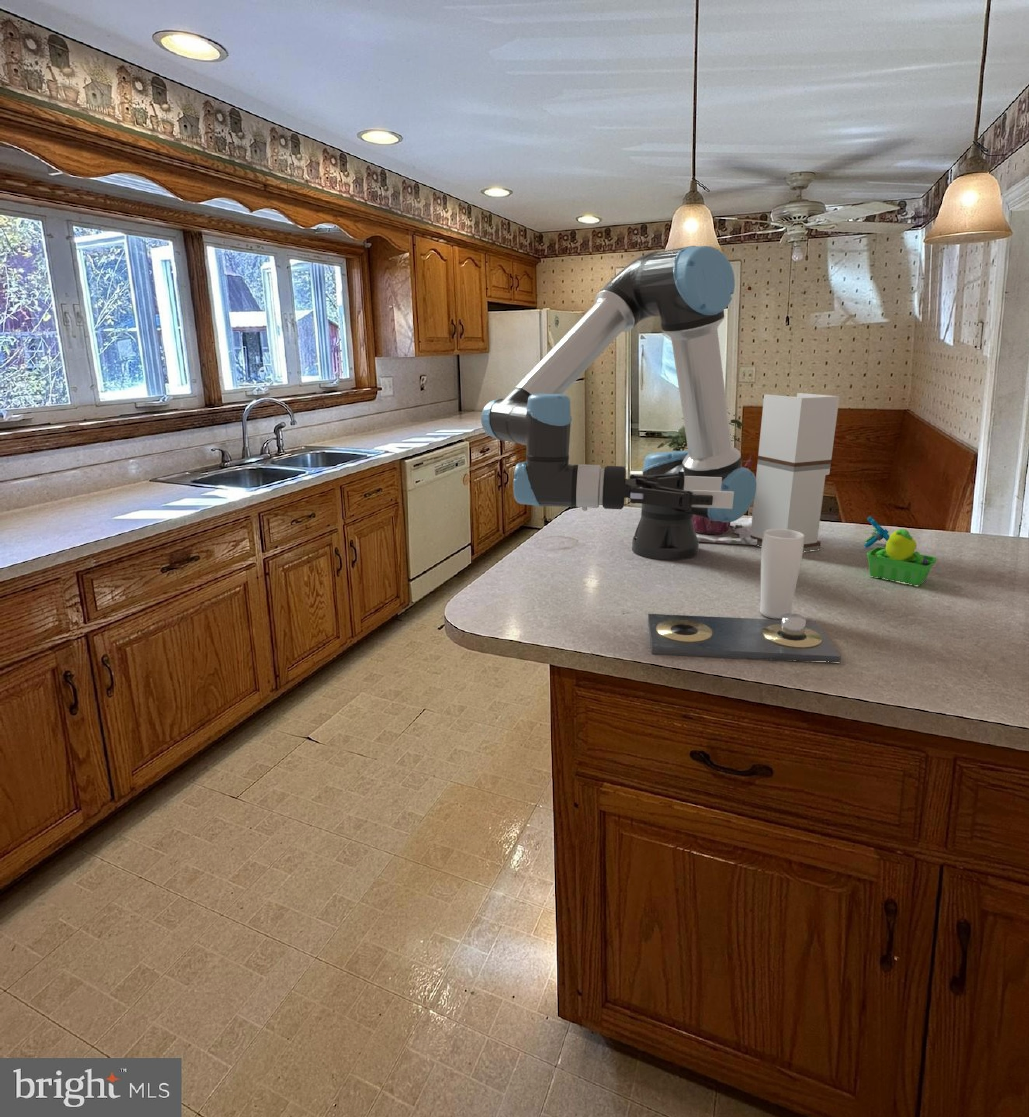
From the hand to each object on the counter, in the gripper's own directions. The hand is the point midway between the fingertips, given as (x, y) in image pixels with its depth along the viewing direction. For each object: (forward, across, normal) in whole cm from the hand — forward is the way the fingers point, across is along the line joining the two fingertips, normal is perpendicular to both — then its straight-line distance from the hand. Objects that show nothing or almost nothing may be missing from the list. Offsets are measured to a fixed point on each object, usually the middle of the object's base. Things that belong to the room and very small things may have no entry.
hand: (726, 492), depth 121 cm
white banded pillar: (+22, -45, -21) cm, 54 cm away
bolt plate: (+2, +12, -22) cm, 25 cm away
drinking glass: (+10, 0, -22) cm, 24 cm away
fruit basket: (+39, -23, -21) cm, 50 cm away
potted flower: (+4, -58, -21) cm, 62 cm away
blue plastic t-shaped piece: (+44, -47, -21) cm, 67 cm away
